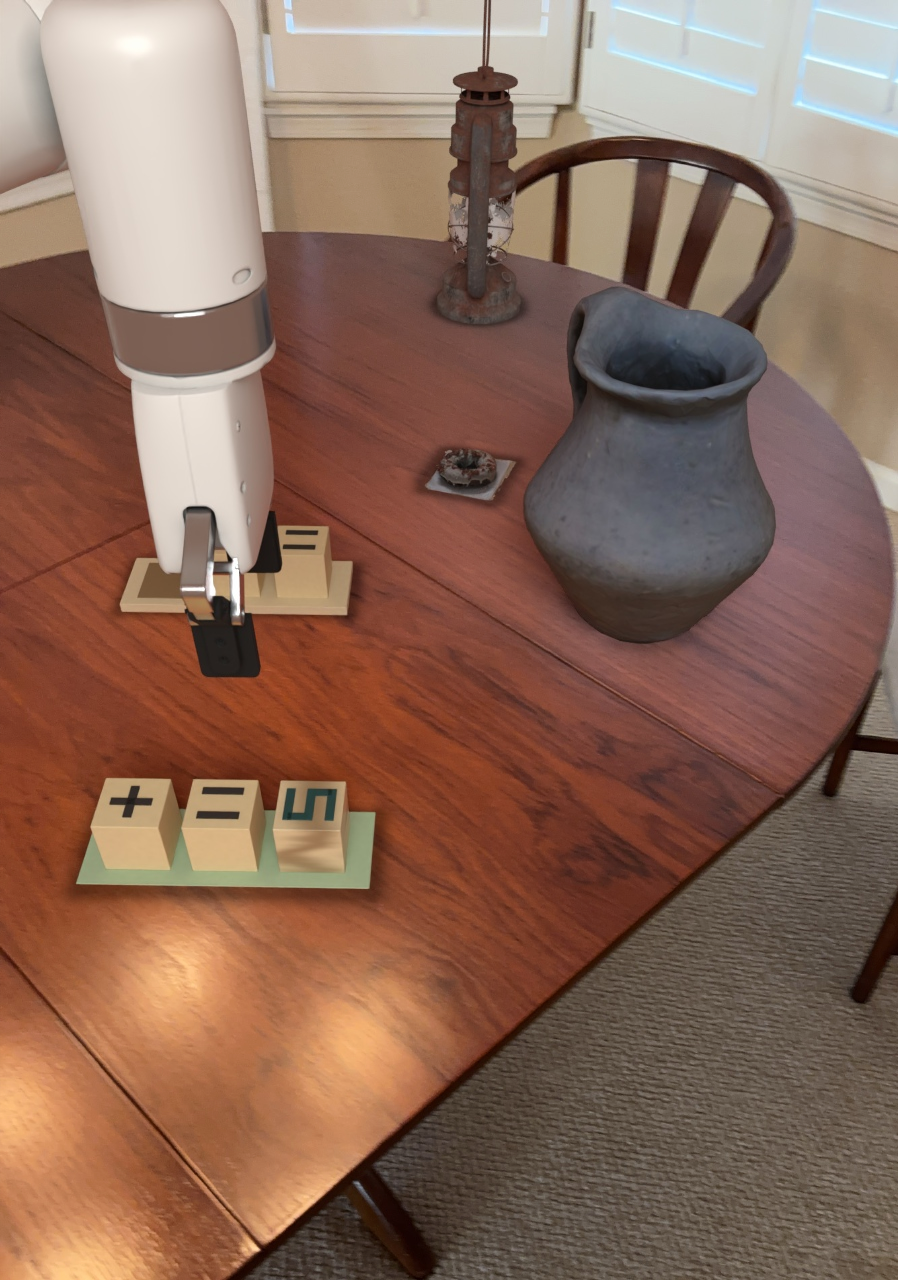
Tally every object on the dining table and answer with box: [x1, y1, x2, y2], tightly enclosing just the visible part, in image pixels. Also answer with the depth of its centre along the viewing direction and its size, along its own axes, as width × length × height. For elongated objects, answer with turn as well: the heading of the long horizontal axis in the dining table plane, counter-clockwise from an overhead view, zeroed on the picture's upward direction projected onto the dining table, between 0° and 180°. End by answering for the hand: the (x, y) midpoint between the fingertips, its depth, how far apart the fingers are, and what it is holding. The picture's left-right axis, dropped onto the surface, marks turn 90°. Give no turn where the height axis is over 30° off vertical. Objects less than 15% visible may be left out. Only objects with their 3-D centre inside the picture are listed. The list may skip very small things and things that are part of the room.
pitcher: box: [522, 286, 777, 645], centre depth 86 cm, size 21×22×25 cm
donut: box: [424, 447, 517, 502], centre depth 108 cm, size 8×8×2 cm
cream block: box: [273, 780, 350, 873], centre depth 72 cm, size 4×4×5 cm
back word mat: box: [119, 525, 354, 616], centre depth 94 cm, size 20×7×6 cm, turn 89°
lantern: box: [436, 0, 522, 325], centre depth 125 cm, size 11×16×35 cm
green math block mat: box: [75, 777, 376, 890], centre depth 73 cm, size 20×7×6 cm, turn 89°
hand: (245, 619), depth 61 cm, fingers open, 9 cm apart
